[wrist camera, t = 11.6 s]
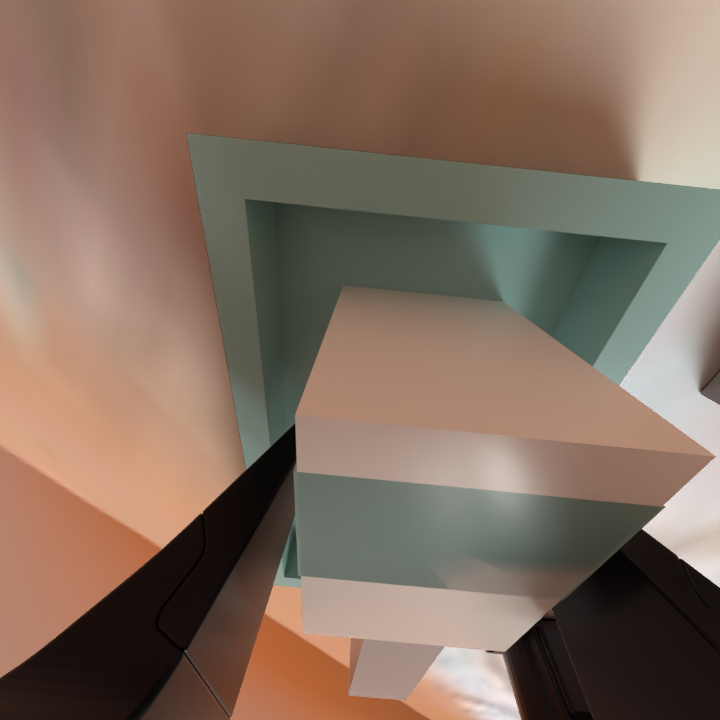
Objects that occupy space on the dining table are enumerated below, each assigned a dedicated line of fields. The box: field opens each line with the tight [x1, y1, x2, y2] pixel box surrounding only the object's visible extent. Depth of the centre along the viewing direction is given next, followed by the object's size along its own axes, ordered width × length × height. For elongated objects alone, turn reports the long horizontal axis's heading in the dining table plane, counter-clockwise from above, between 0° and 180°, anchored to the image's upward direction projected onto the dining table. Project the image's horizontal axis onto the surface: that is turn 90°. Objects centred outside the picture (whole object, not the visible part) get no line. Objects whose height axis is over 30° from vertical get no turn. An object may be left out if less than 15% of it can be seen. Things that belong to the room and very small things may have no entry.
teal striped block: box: [293, 285, 716, 700], centre depth 9 cm, size 12×5×6 cm, turn 175°
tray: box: [186, 133, 720, 588], centre depth 11 cm, size 19×11×2 cm, turn 175°
